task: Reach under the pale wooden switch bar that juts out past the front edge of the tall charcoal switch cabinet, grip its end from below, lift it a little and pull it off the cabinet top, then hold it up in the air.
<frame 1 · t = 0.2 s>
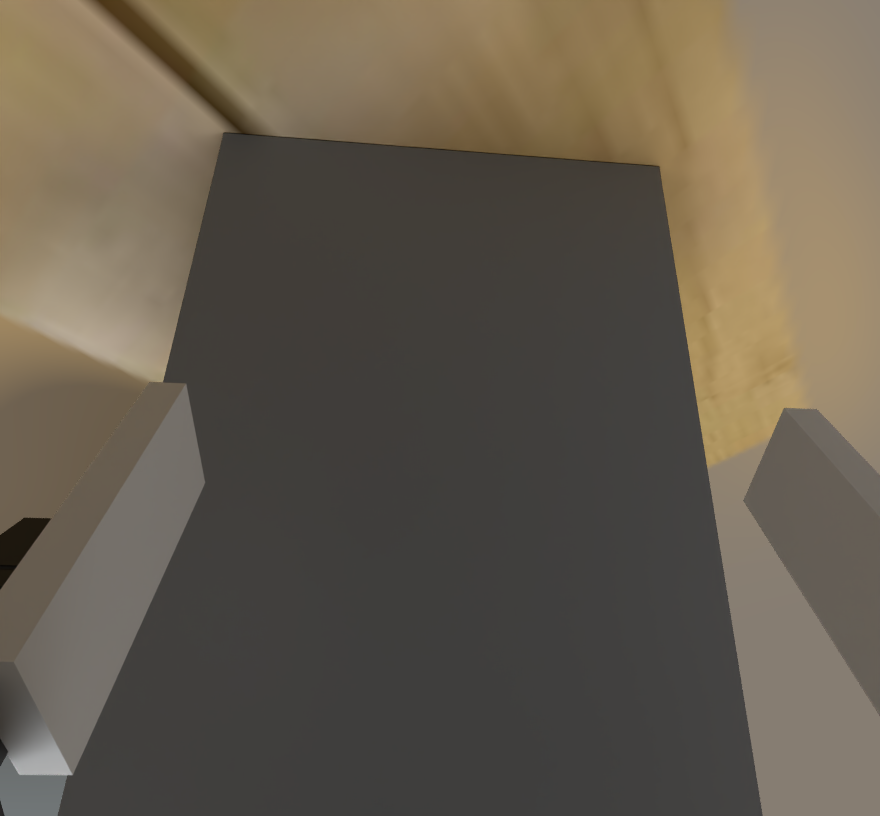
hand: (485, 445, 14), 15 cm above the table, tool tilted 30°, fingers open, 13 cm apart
switch cabinet: (433, 270, 33), on the table
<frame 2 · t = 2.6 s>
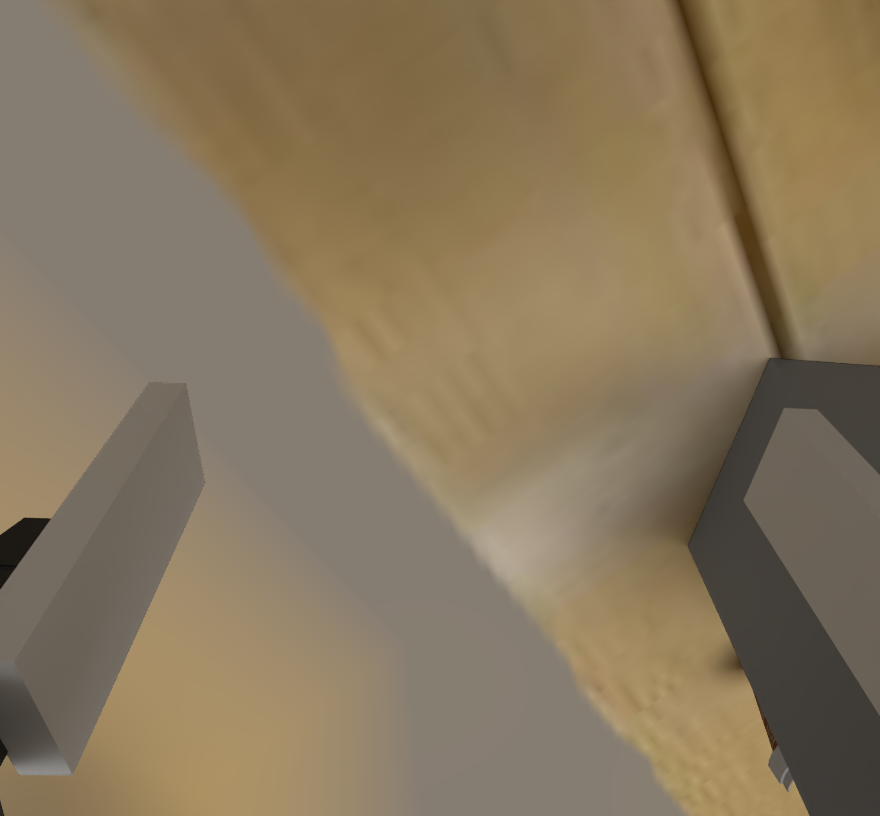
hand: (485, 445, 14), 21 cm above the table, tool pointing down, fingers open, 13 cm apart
switch cabinet: (854, 470, 42), on the table
food container: (800, 636, 52), on the table
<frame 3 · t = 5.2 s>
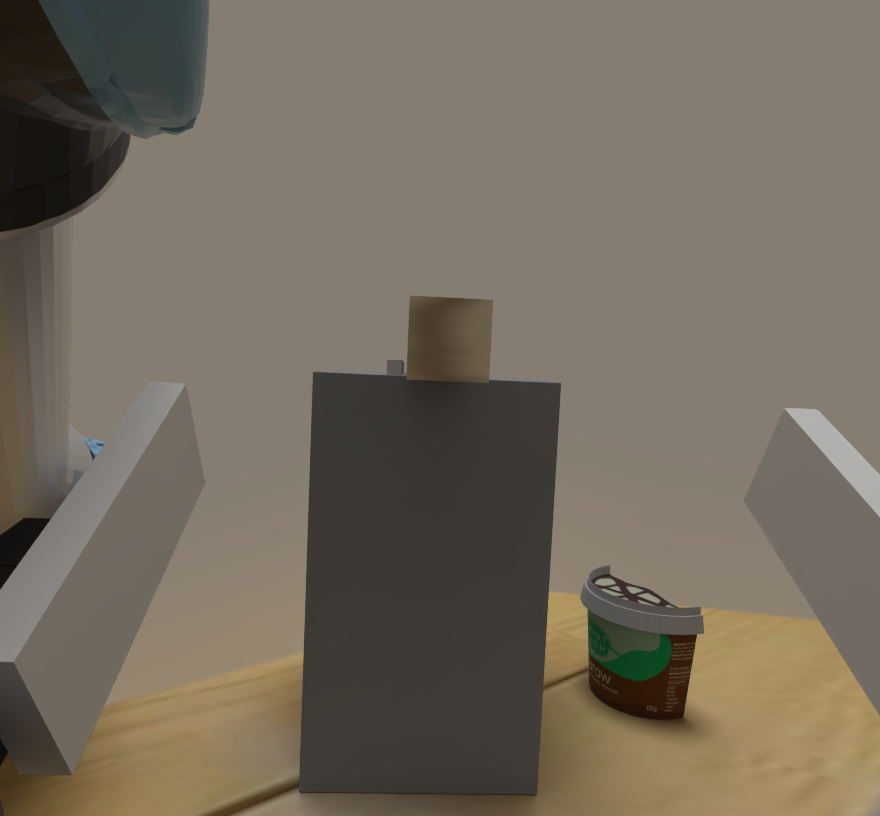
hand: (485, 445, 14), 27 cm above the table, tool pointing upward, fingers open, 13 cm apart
switch cabinet: (417, 717, 51), on the table
switch bar: (436, 376, 43), point 28 cm above the table, touching switch cabinet
food container: (617, 698, 56), on the table
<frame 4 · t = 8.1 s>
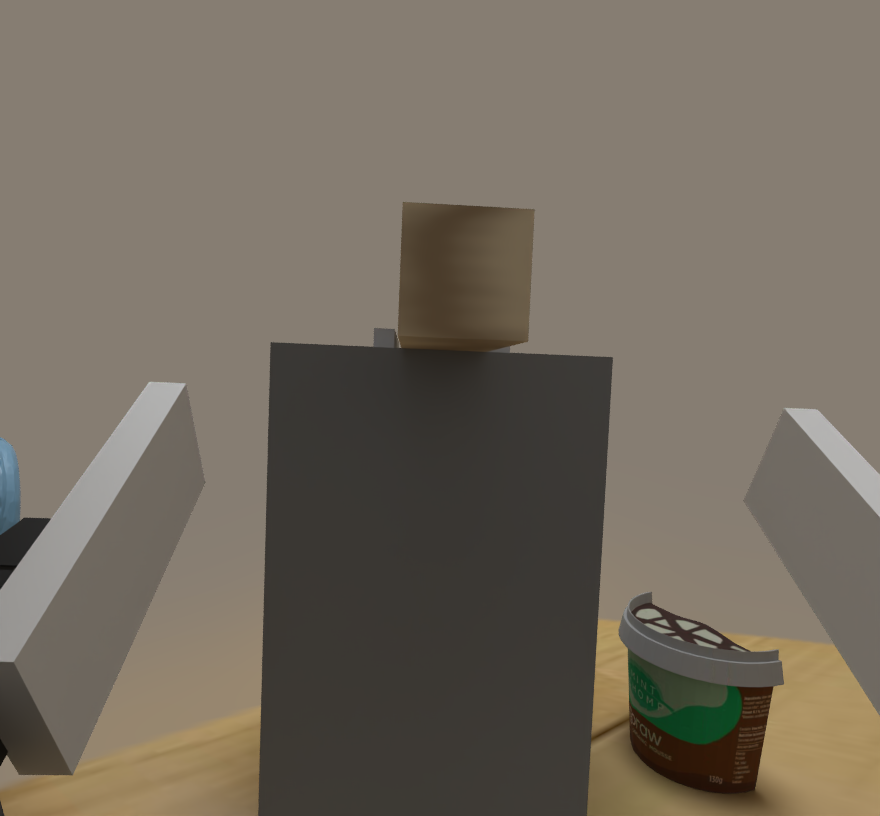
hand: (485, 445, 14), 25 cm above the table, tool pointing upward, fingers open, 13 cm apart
switch cabinet: (417, 795, 39), on the table
switch bar: (440, 352, 32), point 28 cm above the table, touching switch cabinet
food container: (667, 762, 44), on the table
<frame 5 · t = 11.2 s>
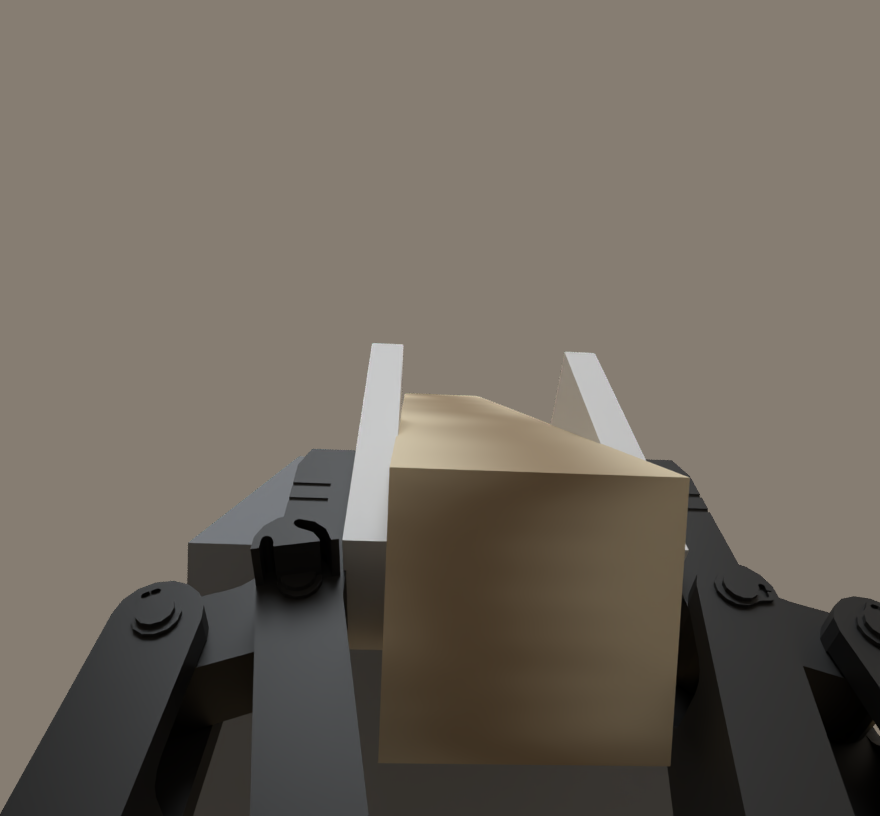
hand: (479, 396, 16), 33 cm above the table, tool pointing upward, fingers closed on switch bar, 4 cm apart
switch bar: (455, 525, 21), point 28 cm above the table, touching gripper, switch cabinet
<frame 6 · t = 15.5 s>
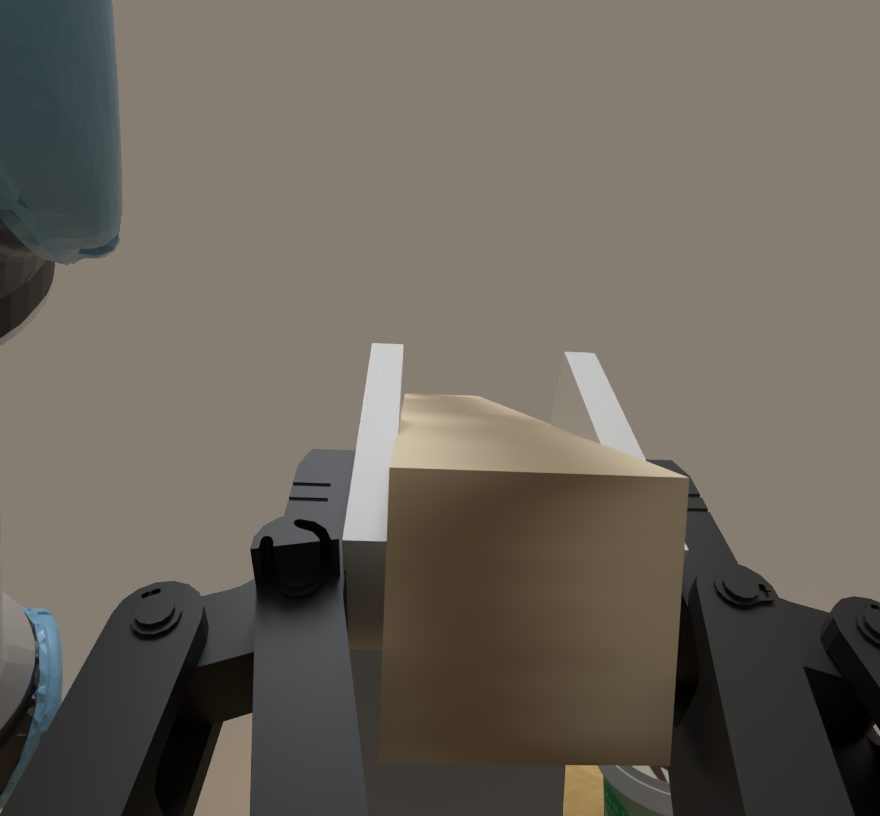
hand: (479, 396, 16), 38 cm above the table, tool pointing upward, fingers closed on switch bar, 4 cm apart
switch bar: (455, 525, 21), point 34 cm above the table, touching gripper
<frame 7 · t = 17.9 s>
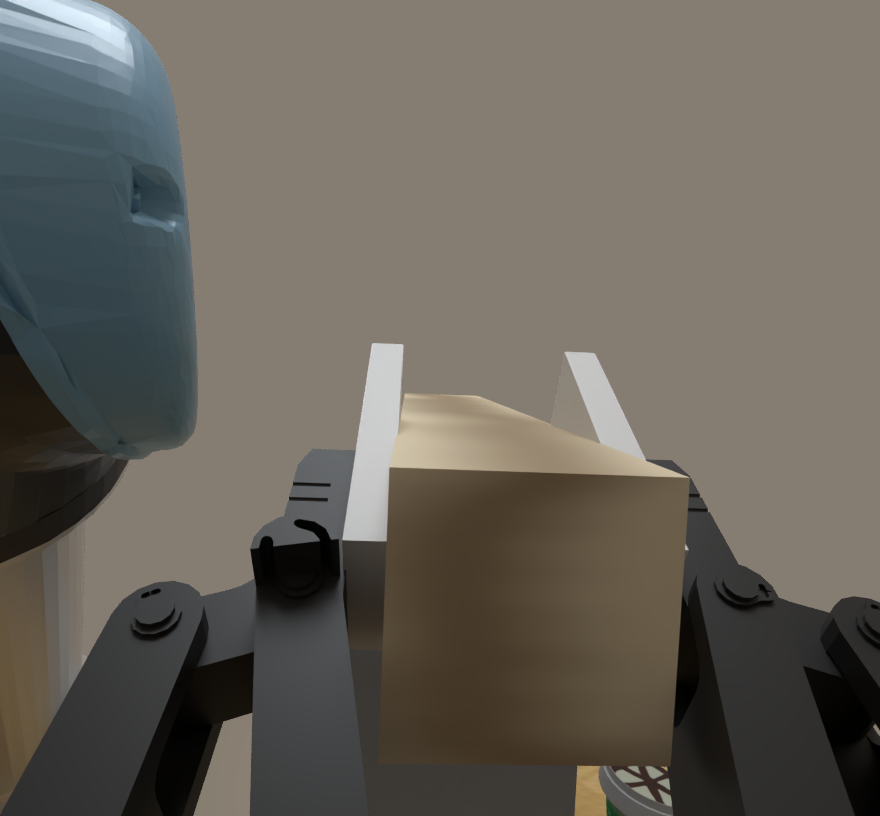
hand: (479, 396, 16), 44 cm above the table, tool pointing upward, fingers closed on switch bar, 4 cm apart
switch bar: (455, 525, 21), point 39 cm above the table, touching gripper
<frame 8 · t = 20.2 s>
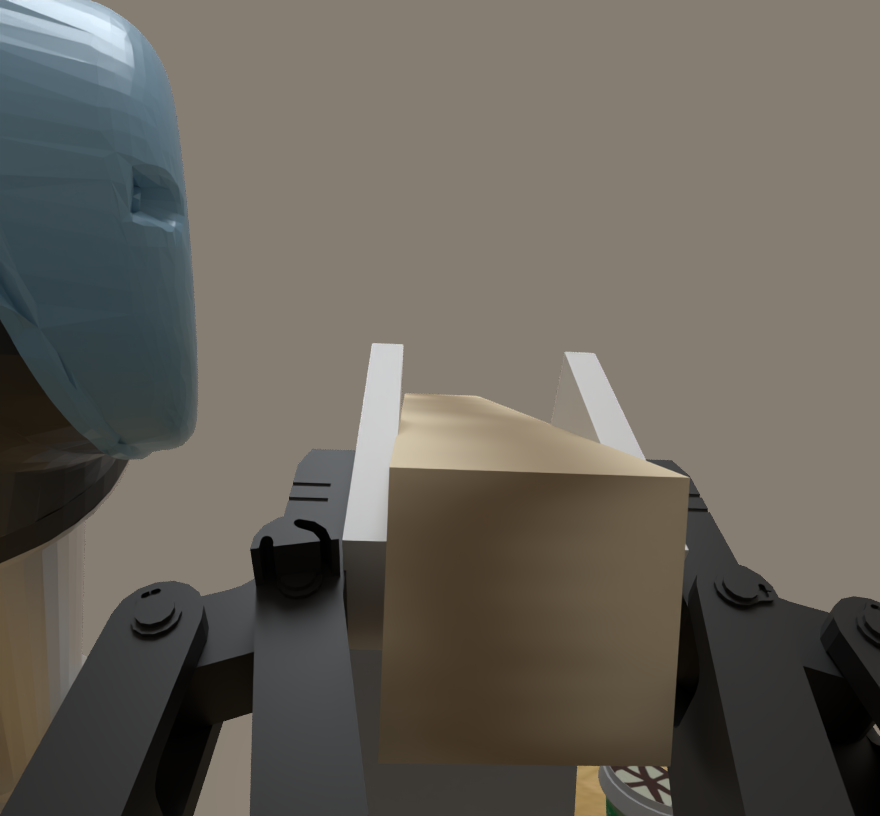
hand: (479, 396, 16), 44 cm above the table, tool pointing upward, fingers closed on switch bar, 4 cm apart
switch bar: (455, 525, 21), point 39 cm above the table, touching gripper
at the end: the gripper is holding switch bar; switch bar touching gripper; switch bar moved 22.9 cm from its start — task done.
